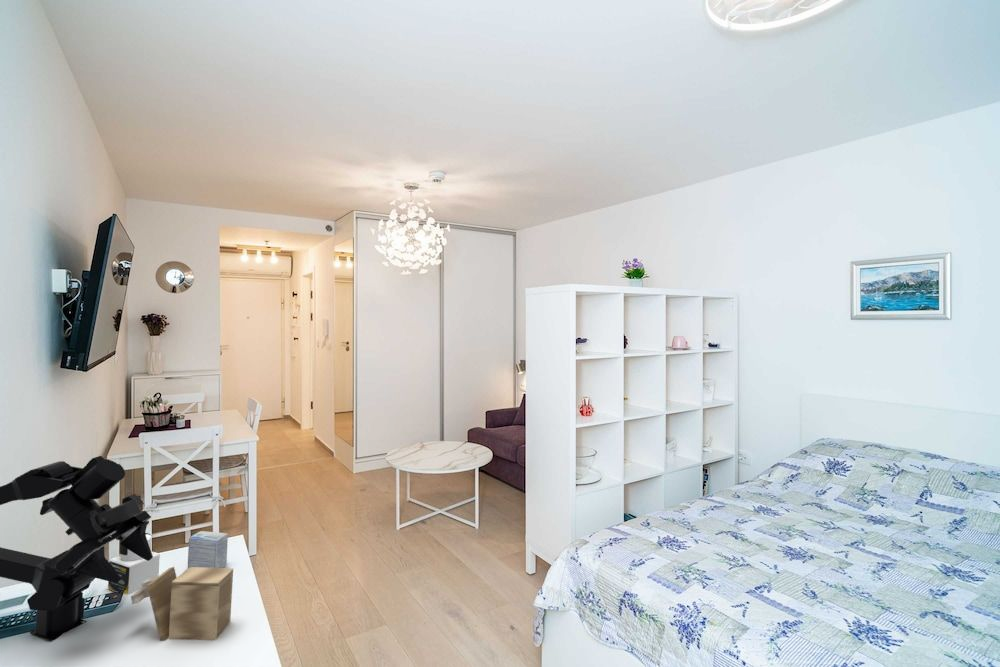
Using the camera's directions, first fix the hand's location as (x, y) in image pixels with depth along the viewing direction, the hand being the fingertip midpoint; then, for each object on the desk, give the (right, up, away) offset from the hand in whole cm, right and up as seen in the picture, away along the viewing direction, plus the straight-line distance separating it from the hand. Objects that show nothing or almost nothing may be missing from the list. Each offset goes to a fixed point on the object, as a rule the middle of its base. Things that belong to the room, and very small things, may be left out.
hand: (135, 569), depth 99 cm
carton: (+13, -13, +1) cm, 19 cm away
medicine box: (-1, -13, +26) cm, 29 cm away
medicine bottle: (-13, -12, +16) cm, 24 cm away
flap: (+6, -13, 0) cm, 14 cm away
